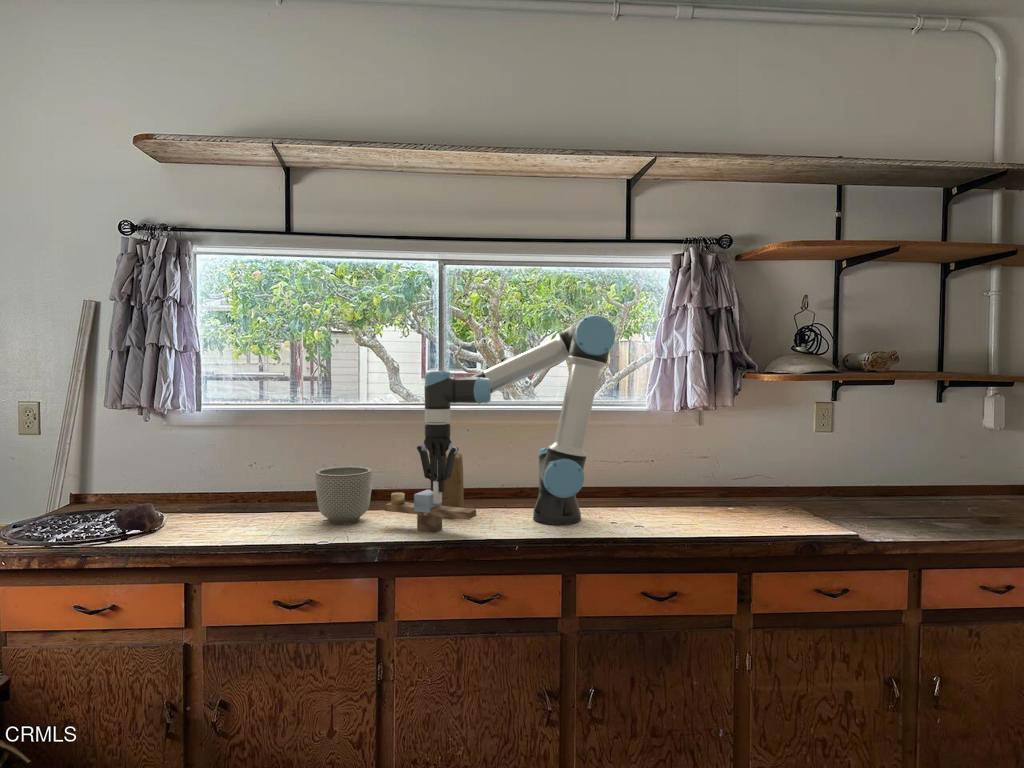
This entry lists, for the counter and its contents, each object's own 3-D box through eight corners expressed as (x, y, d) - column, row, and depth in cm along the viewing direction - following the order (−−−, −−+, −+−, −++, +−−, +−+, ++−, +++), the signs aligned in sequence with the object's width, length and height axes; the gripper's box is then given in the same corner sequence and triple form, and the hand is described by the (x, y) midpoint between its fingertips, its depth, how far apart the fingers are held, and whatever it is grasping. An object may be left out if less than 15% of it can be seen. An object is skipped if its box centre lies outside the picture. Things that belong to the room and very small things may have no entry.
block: (460, 518, 201) (460, 456, 201) (437, 518, 202) (437, 456, 201) (465, 510, 212) (465, 451, 212) (443, 510, 213) (443, 451, 212)
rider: (441, 507, 190) (441, 490, 190) (429, 512, 183) (429, 495, 183) (427, 505, 192) (427, 489, 192) (414, 511, 185) (414, 494, 185)
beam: (476, 532, 185) (476, 498, 184) (468, 537, 180) (468, 502, 180) (394, 523, 195) (393, 491, 195) (384, 527, 190) (384, 494, 190)
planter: (304, 521, 197) (304, 470, 197) (352, 512, 210) (352, 464, 209) (334, 531, 185) (334, 477, 185) (383, 521, 198) (383, 470, 198)
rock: (129, 533, 188) (107, 541, 178) (124, 505, 188) (103, 511, 178) (168, 527, 188) (148, 535, 178) (163, 498, 188) (144, 505, 178)
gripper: (463, 422, 186) (463, 502, 187) (424, 421, 191) (424, 498, 192) (451, 425, 180) (451, 507, 180) (411, 423, 184) (411, 503, 185)
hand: (437, 502), depth 186 cm, fingers closed
